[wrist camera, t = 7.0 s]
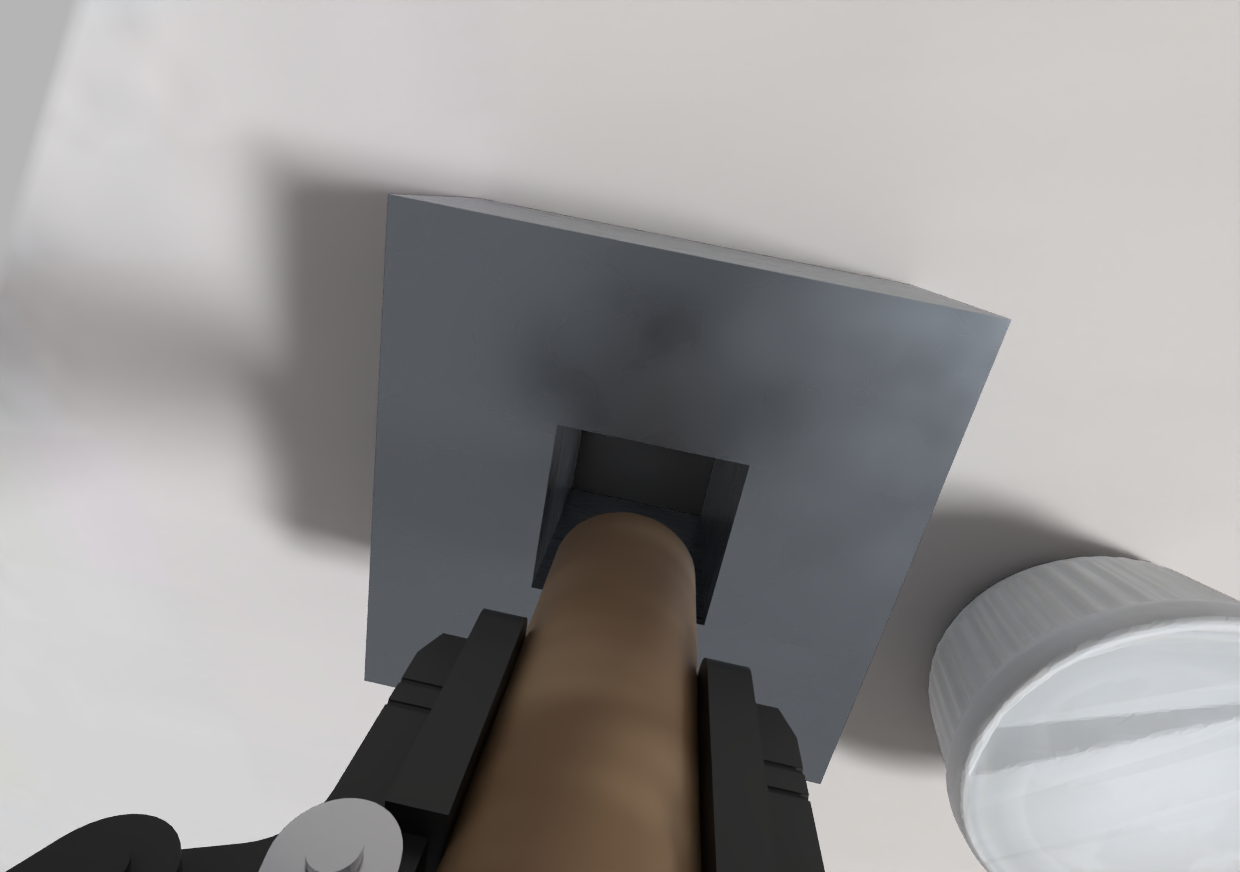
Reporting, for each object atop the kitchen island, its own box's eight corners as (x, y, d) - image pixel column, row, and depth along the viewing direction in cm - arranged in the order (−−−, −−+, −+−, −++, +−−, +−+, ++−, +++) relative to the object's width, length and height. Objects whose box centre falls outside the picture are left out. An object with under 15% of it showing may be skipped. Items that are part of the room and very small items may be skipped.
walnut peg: (709, 528, 13) (775, 1448, 3) (678, 648, 14) (662, 1601, 4) (564, 499, 13) (221, 1311, 3) (544, 619, 14) (242, 1491, 4)
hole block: (912, 285, 18) (1011, 319, 13) (788, 642, 23) (820, 784, 17) (478, 198, 19) (387, 194, 13) (442, 566, 23) (364, 680, 18)
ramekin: (1081, 458, 20) (1213, 542, 15) (1321, 649, 21) (1516, 784, 16) (833, 677, 23) (872, 803, 18) (1050, 827, 25) (1140, 982, 20)
